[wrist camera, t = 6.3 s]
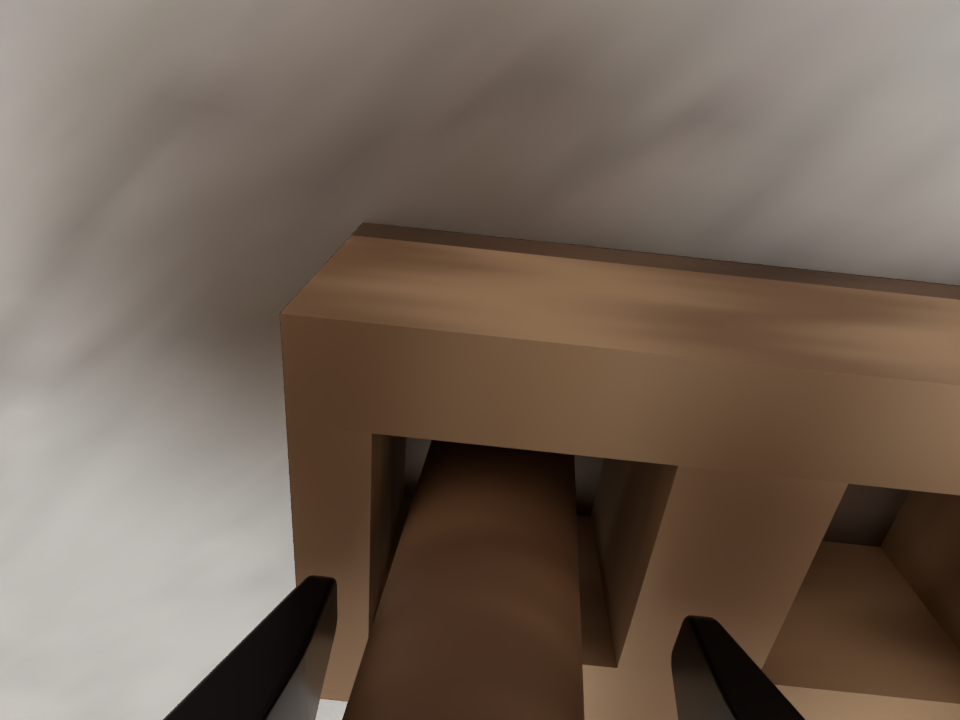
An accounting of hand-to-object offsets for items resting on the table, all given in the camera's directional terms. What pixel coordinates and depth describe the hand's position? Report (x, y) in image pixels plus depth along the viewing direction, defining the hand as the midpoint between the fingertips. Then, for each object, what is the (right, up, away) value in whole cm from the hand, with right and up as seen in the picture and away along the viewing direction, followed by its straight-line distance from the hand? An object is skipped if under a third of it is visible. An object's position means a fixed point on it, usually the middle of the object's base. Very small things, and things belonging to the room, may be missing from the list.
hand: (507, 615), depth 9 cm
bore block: (+4, +2, +5) cm, 7 cm away
